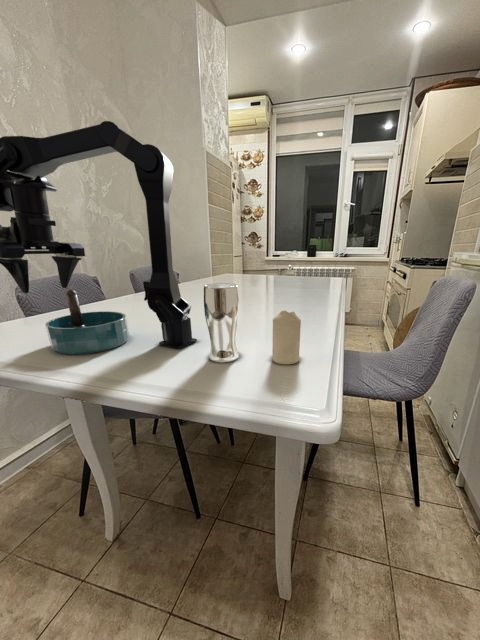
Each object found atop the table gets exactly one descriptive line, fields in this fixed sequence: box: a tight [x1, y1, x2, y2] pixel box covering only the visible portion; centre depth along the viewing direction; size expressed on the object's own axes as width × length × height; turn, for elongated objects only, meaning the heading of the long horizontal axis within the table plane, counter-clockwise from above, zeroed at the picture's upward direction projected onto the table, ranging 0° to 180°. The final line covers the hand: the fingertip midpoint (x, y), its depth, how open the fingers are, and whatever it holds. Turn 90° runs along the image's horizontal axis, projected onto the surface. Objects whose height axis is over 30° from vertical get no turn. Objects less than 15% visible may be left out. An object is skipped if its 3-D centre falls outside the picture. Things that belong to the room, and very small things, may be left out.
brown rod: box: [65, 289, 86, 328], centre depth 70 cm, size 3×3×12 cm
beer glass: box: [203, 282, 240, 363], centre depth 59 cm, size 7×7×15 cm
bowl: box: [45, 310, 130, 355], centre depth 69 cm, size 16×16×6 cm
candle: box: [271, 310, 302, 365], centre depth 58 cm, size 6×6×10 cm
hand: (46, 290), depth 65 cm, fingers open, 9 cm apart
